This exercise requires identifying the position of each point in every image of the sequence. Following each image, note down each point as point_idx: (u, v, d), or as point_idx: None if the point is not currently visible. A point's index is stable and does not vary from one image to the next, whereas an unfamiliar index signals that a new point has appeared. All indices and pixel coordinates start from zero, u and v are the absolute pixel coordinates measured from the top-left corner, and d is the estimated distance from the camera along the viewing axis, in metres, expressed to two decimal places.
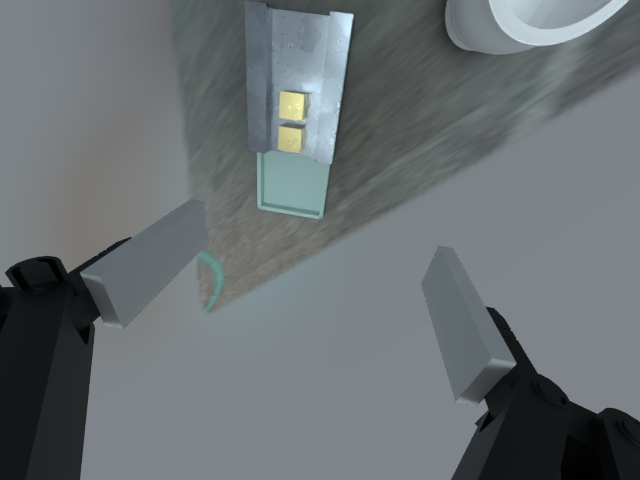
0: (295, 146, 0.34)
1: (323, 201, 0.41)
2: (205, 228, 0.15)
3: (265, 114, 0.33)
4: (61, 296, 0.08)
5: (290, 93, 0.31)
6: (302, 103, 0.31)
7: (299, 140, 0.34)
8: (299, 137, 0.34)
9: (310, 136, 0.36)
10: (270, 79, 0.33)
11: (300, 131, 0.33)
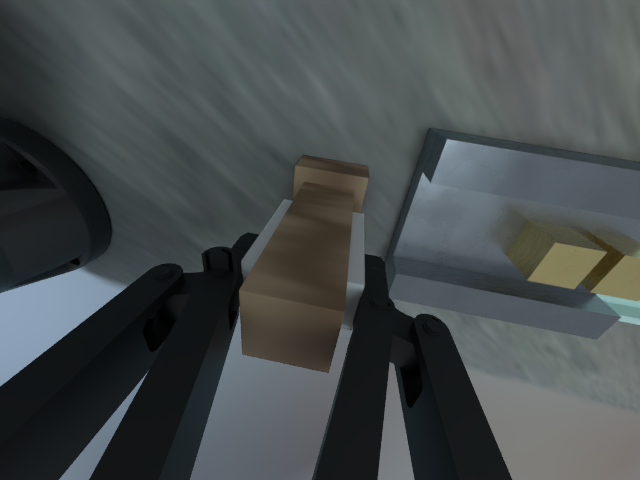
0: None
1: None
2: None
3: (547, 302, 0.18)
4: (227, 285, 0.09)
5: (540, 264, 0.16)
6: (571, 247, 0.15)
7: None
8: None
9: (614, 223, 0.17)
10: (482, 276, 0.20)
11: (627, 256, 0.15)
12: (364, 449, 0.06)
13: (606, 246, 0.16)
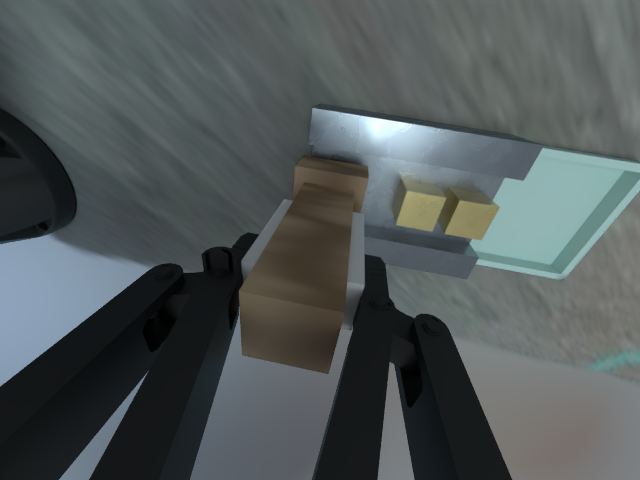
0: (485, 212, 0.19)
1: (611, 162, 0.19)
2: None
3: (421, 246, 0.23)
4: (227, 285, 0.09)
5: (401, 210, 0.20)
6: (419, 194, 0.19)
7: (477, 205, 0.19)
8: (472, 204, 0.19)
9: (466, 180, 0.21)
10: (376, 229, 0.24)
11: (462, 201, 0.19)
12: (364, 449, 0.06)
13: (454, 196, 0.20)
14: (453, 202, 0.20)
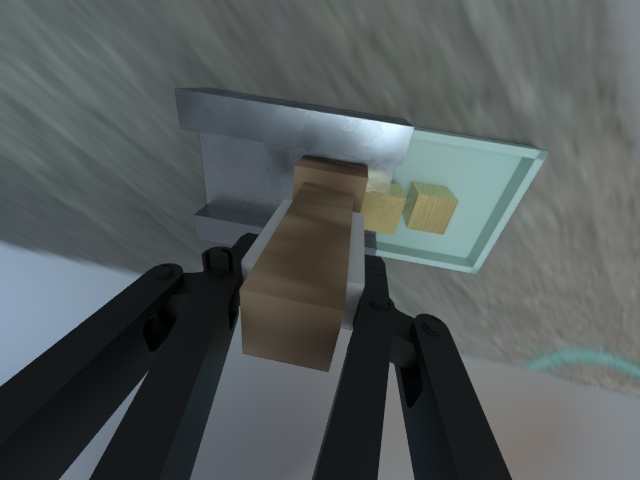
0: None
1: (499, 146, 0.18)
2: None
3: None
4: (227, 285, 0.09)
5: (360, 212, 0.19)
6: (377, 195, 0.18)
7: None
8: None
9: None
10: None
11: None
12: (364, 449, 0.06)
13: (441, 200, 0.19)
14: (444, 205, 0.19)
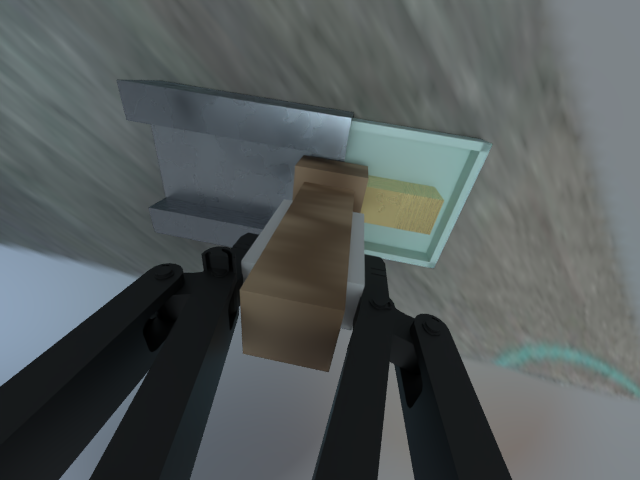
0: None
1: (444, 139, 0.18)
2: None
3: None
4: (227, 285, 0.09)
5: None
6: (377, 189, 0.19)
7: None
8: None
9: None
10: (234, 213, 0.23)
11: None
12: (364, 449, 0.06)
13: (426, 199, 0.19)
14: (430, 205, 0.19)
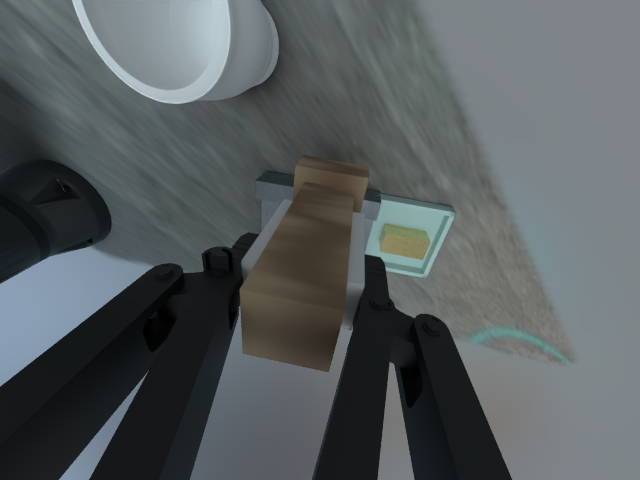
0: None
1: (430, 209, 0.33)
2: None
3: None
4: (227, 285, 0.09)
5: (383, 244, 0.35)
6: (393, 235, 0.34)
7: (428, 237, 0.35)
8: (428, 239, 0.35)
9: None
10: None
11: (429, 241, 0.34)
12: (364, 449, 0.06)
13: (420, 241, 0.34)
14: (422, 244, 0.34)
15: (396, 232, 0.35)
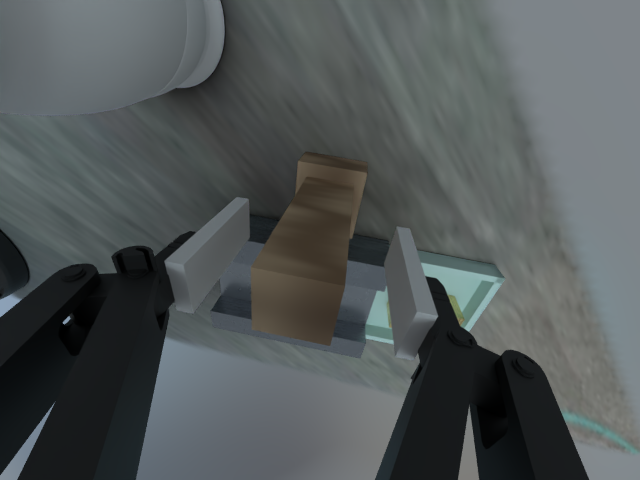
0: None
1: (465, 273, 0.22)
2: (248, 224, 0.16)
3: None
4: (148, 284, 0.09)
5: None
6: None
7: None
8: (460, 312, 0.24)
9: None
10: None
11: (462, 317, 0.23)
12: None
13: None
14: None
15: None
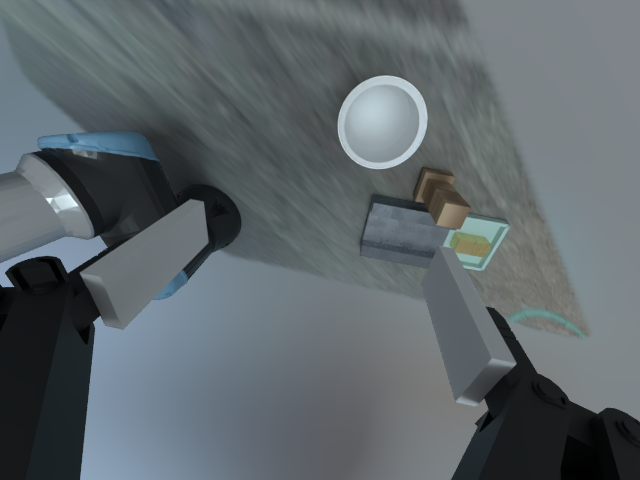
0: None
1: (492, 222, 0.48)
2: (205, 228, 0.15)
3: (416, 255, 0.51)
4: (61, 296, 0.08)
5: (457, 246, 0.50)
6: (465, 240, 0.49)
7: (488, 242, 0.50)
8: None
9: (435, 227, 0.50)
10: (395, 247, 0.53)
11: (490, 245, 0.49)
12: None
13: (484, 244, 0.49)
14: (485, 246, 0.49)
15: (466, 238, 0.50)
